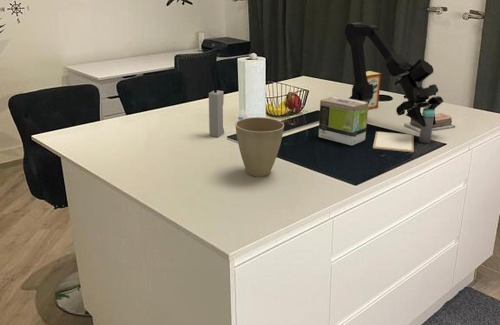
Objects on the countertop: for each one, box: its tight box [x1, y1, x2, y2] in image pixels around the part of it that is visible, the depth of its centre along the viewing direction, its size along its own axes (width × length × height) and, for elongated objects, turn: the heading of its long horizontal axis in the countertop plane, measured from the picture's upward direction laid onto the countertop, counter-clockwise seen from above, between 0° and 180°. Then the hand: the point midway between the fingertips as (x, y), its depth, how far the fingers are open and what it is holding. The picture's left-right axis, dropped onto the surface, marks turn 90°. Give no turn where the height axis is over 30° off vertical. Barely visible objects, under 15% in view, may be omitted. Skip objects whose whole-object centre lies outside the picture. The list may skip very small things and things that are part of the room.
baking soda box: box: [366, 70, 382, 111], centre depth 236 cm, size 10×6×16 cm
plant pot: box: [234, 116, 285, 177], centre depth 164 cm, size 15×15×16 cm
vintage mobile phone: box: [208, 69, 225, 138], centre depth 196 cm, size 4×5×25 cm
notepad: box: [372, 130, 415, 153], centre depth 195 cm, size 14×19×1 cm
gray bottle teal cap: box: [418, 108, 436, 144], centre depth 194 cm, size 4×4×12 cm
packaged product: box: [403, 112, 456, 134], centre depth 212 cm, size 18×5×10 cm
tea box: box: [318, 95, 369, 146], centre depth 196 cm, size 15×10×15 cm
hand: (429, 125), depth 192 cm, fingers open, 5 cm apart
